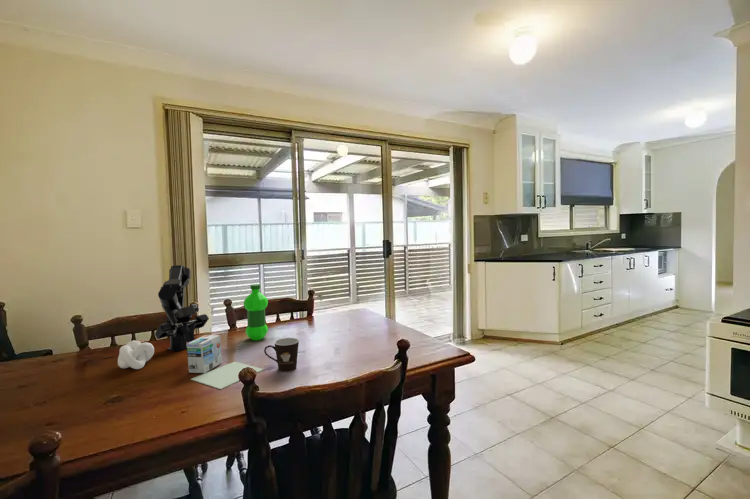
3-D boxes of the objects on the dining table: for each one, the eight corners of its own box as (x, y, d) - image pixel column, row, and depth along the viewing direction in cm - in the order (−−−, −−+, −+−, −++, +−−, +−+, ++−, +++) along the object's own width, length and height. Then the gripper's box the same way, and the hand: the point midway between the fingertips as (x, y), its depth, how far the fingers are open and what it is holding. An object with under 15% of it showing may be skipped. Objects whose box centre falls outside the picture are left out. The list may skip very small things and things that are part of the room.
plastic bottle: (273, 337, 171) (271, 284, 170) (255, 343, 162) (253, 287, 161) (259, 333, 177) (257, 282, 175) (240, 339, 168) (238, 285, 166)
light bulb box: (204, 373, 129) (202, 343, 128) (188, 373, 130) (185, 343, 130) (223, 362, 139) (220, 334, 139) (207, 362, 141) (205, 334, 140)
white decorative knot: (150, 358, 146) (149, 335, 145) (159, 366, 137) (157, 342, 137) (116, 365, 138) (114, 342, 137) (123, 374, 130) (121, 350, 129)
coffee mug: (303, 365, 136) (303, 339, 136) (291, 374, 128) (290, 346, 128) (277, 361, 140) (276, 336, 140) (263, 370, 132) (262, 343, 131)
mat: (190, 379, 125) (190, 378, 125) (234, 362, 140) (234, 361, 140) (220, 389, 117) (220, 388, 117) (263, 369, 132) (263, 369, 132)
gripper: (157, 302, 131) (177, 337, 126) (204, 294, 147) (224, 324, 142) (146, 321, 136) (165, 356, 131) (193, 311, 152) (211, 341, 147)
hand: (193, 343), depth 138 cm, fingers closed
